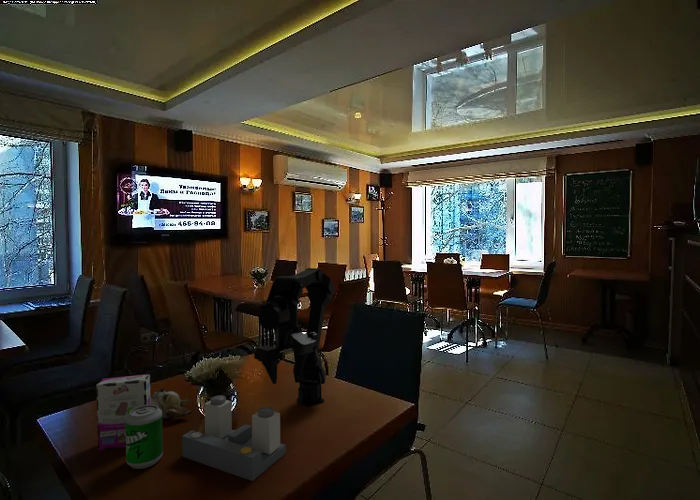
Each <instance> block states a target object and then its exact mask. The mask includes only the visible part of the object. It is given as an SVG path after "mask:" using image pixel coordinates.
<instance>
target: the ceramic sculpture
mask: <svg viewBox="0 0 700 500" xmlns="http://www.w3.org/2000/svg"><path fill="white" fill-rule="evenodd" d="M190 401H191V398H187V399H181V396H180V395H179V394H178V393H177V392H175V391H174V390H170V391H169V390H167V391H166V390H165V388H160V389H158V390H156V391H155V392H153V394H152V396H151V405H155V406H157V407H158V408H159V409H161V410H162V419H169V418H170V419H171V418H172V419H180V418H184V417H186V416H189V415H191V414H192V413H193V412H194V411H193V410H188V409H187V408H186V407H184V406H185V405H186V404H188V403H189V402H190Z"/></svg>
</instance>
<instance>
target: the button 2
mask: <svg viewBox="0 0 700 500" xmlns="http://www.w3.org/2000/svg"><path fill="white" fill-rule="evenodd" d="M251 426H252V448H253V449H256V450H259V451H261V452H263V453H266V454H269V455H270V454H271V453H272V452H274V451H275V450H276V449H277V448H279V447H280V443H281V413H280V412H278V411H275V409H274V407H271V406H263V407H260V408H259V409H258V410H257V412H255V413H254V414H253V415H251Z"/></svg>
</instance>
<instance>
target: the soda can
mask: <svg viewBox="0 0 700 500" xmlns="http://www.w3.org/2000/svg"><path fill="white" fill-rule="evenodd" d="M125 429H126V447H125V463H126V464H127V466H130V467H131V468H133V469H135V470H142V469H146V468H149V467H152V466H154V465H155V464H156V463H158V462H159V460H160V459H161V457H162V456H164V455H163V454H164V448H163V447H164V446H163V445H164V444H163V442H164V441H163V439H164V438H163V418H162V410H161V409H159V408H158V407H157V406H155V405H145V406H140V407H137V408H135V409H133V410H131V411H130V413H129V414H128V415H127V416H126V419H125Z"/></svg>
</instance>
